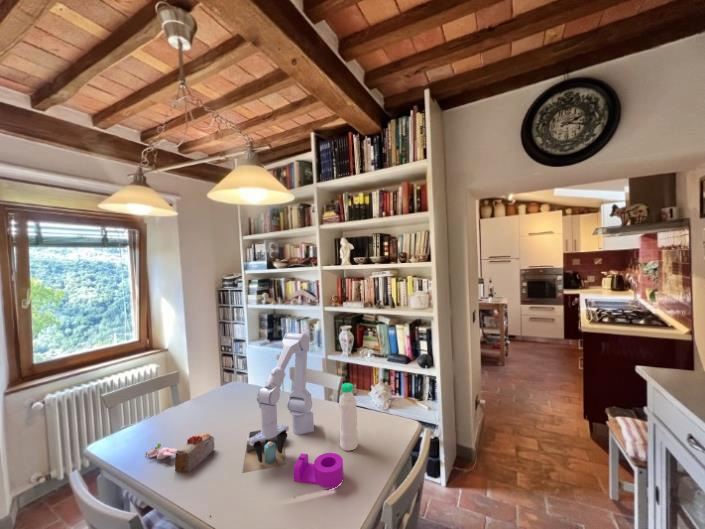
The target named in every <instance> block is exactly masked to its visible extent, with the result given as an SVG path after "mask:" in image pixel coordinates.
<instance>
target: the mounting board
mask: <svg viewBox="0 0 705 529" xmlns="http://www.w3.org/2000/svg"><path fill="white" fill-rule="evenodd" d="M275 445H276V461H275V462H273V463H271V464H267V463H265V450H264V449H263V450H262V462H261V463H260V462H259V460H258V456H257V453H256V451H252V452H247V445H246V447H245V454H244V460H243V467H242V474H244V473H248V472H255V471H259V470H260V471H261V470H264V469H265V470H266V469H269V468H274V467H280V466H284V465H287V462H286V461H287V459H286V441H285V442H284V445H283V449H282V453H281V454H280V453H279V452H278V443H275Z"/></svg>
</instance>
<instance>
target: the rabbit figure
mask: <svg viewBox="0 0 705 529" xmlns="http://www.w3.org/2000/svg"><path fill="white" fill-rule="evenodd" d="M156 444H157V445H155V447H152V448H151V450H150V451H145V454H144V456H145V457H148V458H150V459H151V458H154V457H156V459H157V460H163V459H164V460H165V459H166V458H167V457H170V456H171V457H175V455H176V451H177V450H178V449H177V448H170V447H164V446H163V448H161V447H162V444H161V442H156ZM160 448H161V449H160ZM174 454H175V455H174Z"/></svg>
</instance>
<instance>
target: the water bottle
mask: <svg viewBox="0 0 705 529" xmlns="http://www.w3.org/2000/svg"><path fill="white" fill-rule="evenodd" d="M341 392H342V394H341V397H340V398H339V402H338V405H339V413H338V414H339V416H338V417H339V437H340V438H339V440H340V441H339V444H340V445H339V446H340V448H341V449H342V450H343V449H344V450H343V451H345V450H352V449H354V448H356V447H358V446H357V445H359V441H358V427H357V426H358V412H357V399H356V398H355V396H354V394H353V392H354V385H353V384H352V383H349V382H344V383H342V385H341ZM356 449H357V448H356Z"/></svg>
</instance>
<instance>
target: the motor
mask: <svg viewBox="0 0 705 529" xmlns="http://www.w3.org/2000/svg"><path fill="white" fill-rule="evenodd" d="M260 432H261V429H257V430H250V431H248V432H247V437H246V438H247V439H246V446H247V452H252V451H256V450H255V448H254V446H251V445H250V444H249V438H251V437H253V436H255V435H257V434H258V433H260ZM270 441H271V442H273V443H278V441H277V435H276V436H275V437H273V438H270V439H265V440H262V441H260V442H261V445H262V446H263V448H262V450H263V449H264V446H265V445H266V444H267V443H268V442H270Z"/></svg>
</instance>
